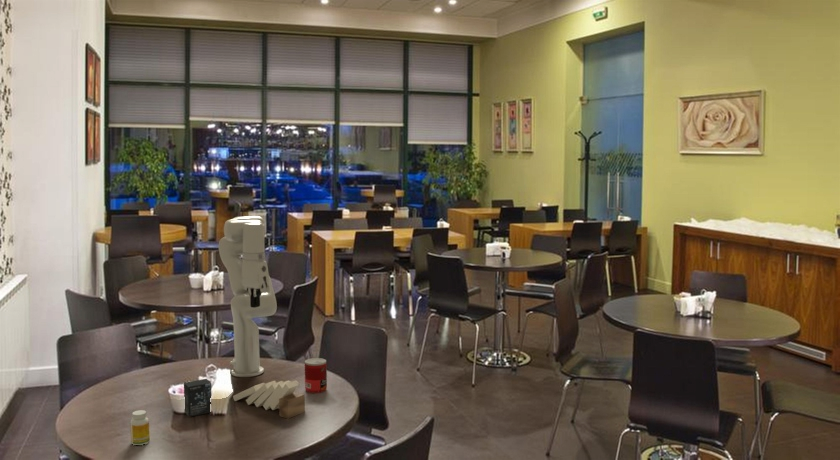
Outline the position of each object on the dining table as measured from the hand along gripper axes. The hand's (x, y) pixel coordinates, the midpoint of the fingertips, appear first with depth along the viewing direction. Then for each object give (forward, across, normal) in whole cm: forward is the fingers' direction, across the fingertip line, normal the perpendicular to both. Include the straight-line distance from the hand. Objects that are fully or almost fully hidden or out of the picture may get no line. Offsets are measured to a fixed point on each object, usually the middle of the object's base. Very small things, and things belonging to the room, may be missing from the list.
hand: (255, 306), depth 278 cm
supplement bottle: (+31, -7, +55) cm, 64 cm away
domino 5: (+30, -21, +11) cm, 38 cm away
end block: (+31, -28, +11) cm, 43 cm away
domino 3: (+30, -13, +11) cm, 35 cm away
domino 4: (+30, -18, +11) cm, 37 cm away
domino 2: (+30, -9, +11) cm, 33 cm away
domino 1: (+30, -2, +11) cm, 32 cm away
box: (+31, -1, +28) cm, 42 cm away
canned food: (+31, -18, -12) cm, 38 cm away
